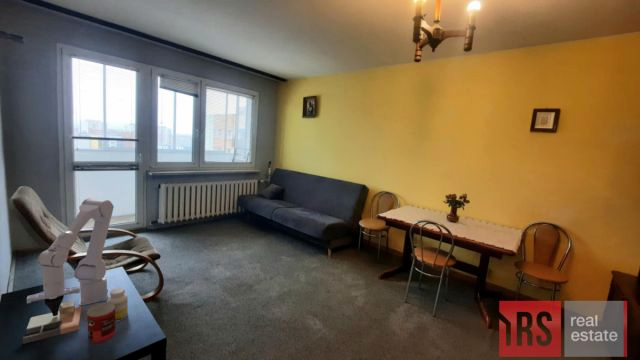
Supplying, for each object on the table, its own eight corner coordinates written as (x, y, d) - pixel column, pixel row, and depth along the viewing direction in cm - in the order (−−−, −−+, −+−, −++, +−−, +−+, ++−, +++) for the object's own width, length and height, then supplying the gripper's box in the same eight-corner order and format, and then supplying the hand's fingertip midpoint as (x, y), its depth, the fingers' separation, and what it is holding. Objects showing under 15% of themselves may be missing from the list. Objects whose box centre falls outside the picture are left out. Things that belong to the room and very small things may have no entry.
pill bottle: (114, 312, 117) (113, 286, 115) (131, 312, 118) (130, 286, 116) (104, 322, 111) (103, 294, 109) (121, 322, 111) (121, 295, 110)
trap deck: (81, 310, 116) (81, 306, 116) (78, 329, 106) (78, 324, 106) (31, 322, 108) (31, 317, 108) (23, 343, 97) (22, 338, 97)
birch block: (74, 310, 113) (74, 300, 113) (73, 315, 110) (73, 306, 110) (61, 313, 111) (60, 303, 111) (59, 318, 108) (59, 308, 107)
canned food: (92, 332, 105) (91, 304, 104) (118, 327, 108) (117, 301, 107) (84, 346, 98) (83, 316, 97) (112, 341, 101) (111, 312, 100)
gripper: (23, 290, 99) (26, 326, 101) (78, 281, 108) (79, 314, 110) (28, 282, 105) (30, 316, 107) (79, 273, 113) (81, 305, 115)
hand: (55, 314), depth 109 cm, fingers closed
